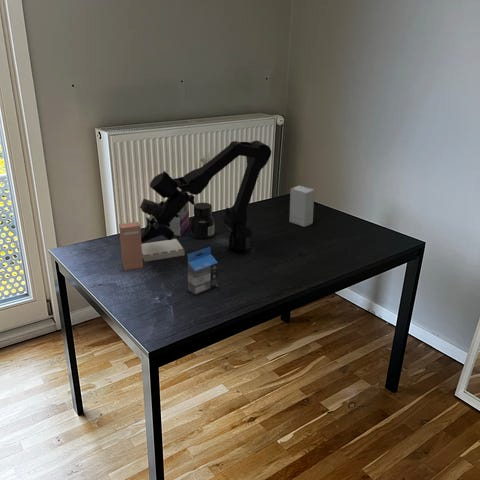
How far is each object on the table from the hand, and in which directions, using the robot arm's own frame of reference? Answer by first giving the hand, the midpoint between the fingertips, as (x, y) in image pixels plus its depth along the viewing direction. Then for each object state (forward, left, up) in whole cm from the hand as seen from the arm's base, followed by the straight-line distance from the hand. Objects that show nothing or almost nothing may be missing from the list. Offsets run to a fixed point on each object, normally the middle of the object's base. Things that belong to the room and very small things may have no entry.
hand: (141, 241), depth 156 cm
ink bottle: (-4, -31, -9) cm, 33 cm away
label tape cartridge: (-25, +3, -9) cm, 27 cm away
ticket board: (0, -11, -9) cm, 14 cm away
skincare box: (-32, -62, -9) cm, 71 cm away
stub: (+2, +3, -9) cm, 9 cm away
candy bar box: (+6, -30, -9) cm, 32 cm away
